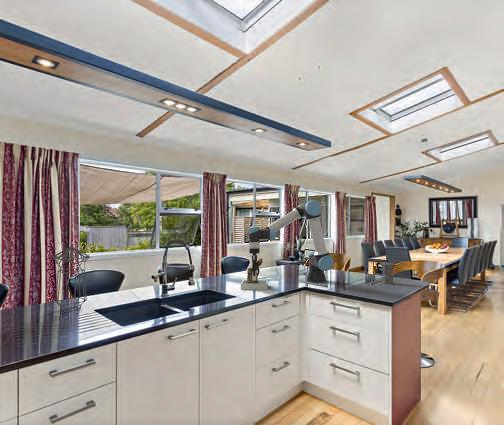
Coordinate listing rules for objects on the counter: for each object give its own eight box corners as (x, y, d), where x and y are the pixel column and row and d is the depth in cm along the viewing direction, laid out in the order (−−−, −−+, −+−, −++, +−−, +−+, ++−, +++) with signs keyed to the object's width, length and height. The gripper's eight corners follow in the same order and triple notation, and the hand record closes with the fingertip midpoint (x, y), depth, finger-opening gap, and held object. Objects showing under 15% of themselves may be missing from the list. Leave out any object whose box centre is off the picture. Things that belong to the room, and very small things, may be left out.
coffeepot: (398, 283, 244) (398, 260, 245) (393, 285, 238) (393, 261, 238) (378, 280, 255) (378, 258, 256) (373, 282, 249) (373, 259, 249)
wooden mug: (265, 283, 235) (265, 258, 235) (250, 285, 227) (250, 260, 228) (259, 281, 242) (258, 257, 243) (243, 283, 235) (243, 259, 235)
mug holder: (267, 285, 240) (267, 280, 240) (267, 289, 226) (267, 284, 226) (242, 285, 241) (242, 280, 242) (240, 289, 227) (240, 283, 228)
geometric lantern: (79, 304, 190) (79, 245, 191) (91, 309, 180) (91, 246, 181) (49, 310, 178) (50, 247, 179) (60, 315, 168) (61, 248, 169)
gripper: (250, 246, 245) (250, 276, 244) (248, 249, 224) (248, 281, 224) (260, 246, 244) (260, 276, 244) (258, 249, 224) (259, 282, 223)
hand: (254, 279), depth 234 cm, fingers closed on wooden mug, 7 cm apart
